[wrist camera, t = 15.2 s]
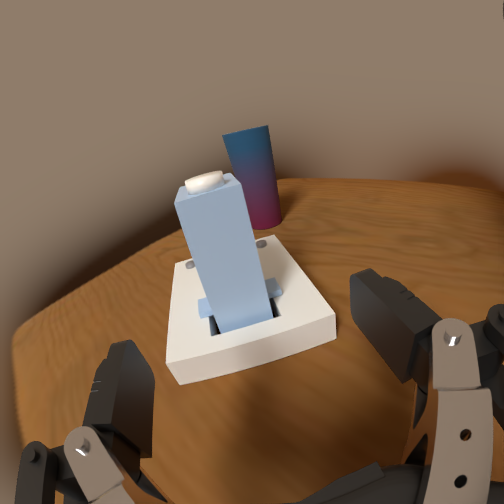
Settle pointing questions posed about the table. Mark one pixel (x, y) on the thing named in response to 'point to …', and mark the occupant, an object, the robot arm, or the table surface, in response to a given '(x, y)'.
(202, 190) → the block
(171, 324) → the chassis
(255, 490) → the table surface
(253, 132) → the cup
